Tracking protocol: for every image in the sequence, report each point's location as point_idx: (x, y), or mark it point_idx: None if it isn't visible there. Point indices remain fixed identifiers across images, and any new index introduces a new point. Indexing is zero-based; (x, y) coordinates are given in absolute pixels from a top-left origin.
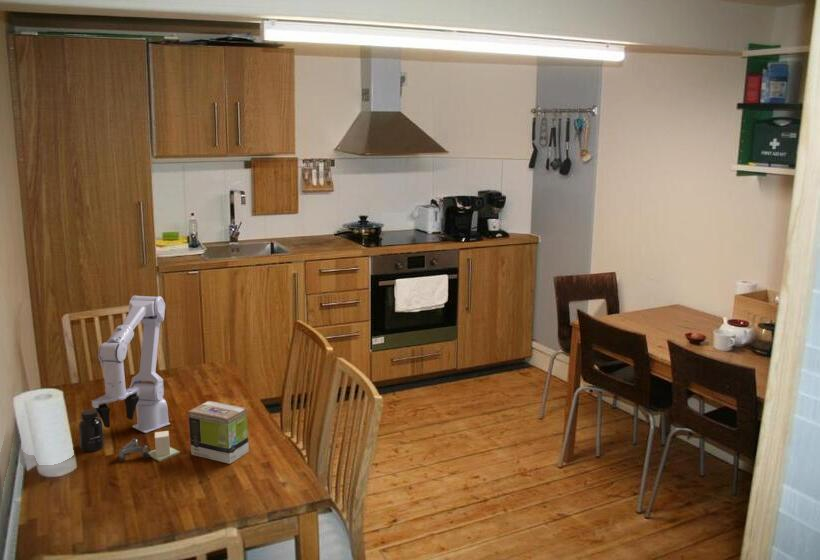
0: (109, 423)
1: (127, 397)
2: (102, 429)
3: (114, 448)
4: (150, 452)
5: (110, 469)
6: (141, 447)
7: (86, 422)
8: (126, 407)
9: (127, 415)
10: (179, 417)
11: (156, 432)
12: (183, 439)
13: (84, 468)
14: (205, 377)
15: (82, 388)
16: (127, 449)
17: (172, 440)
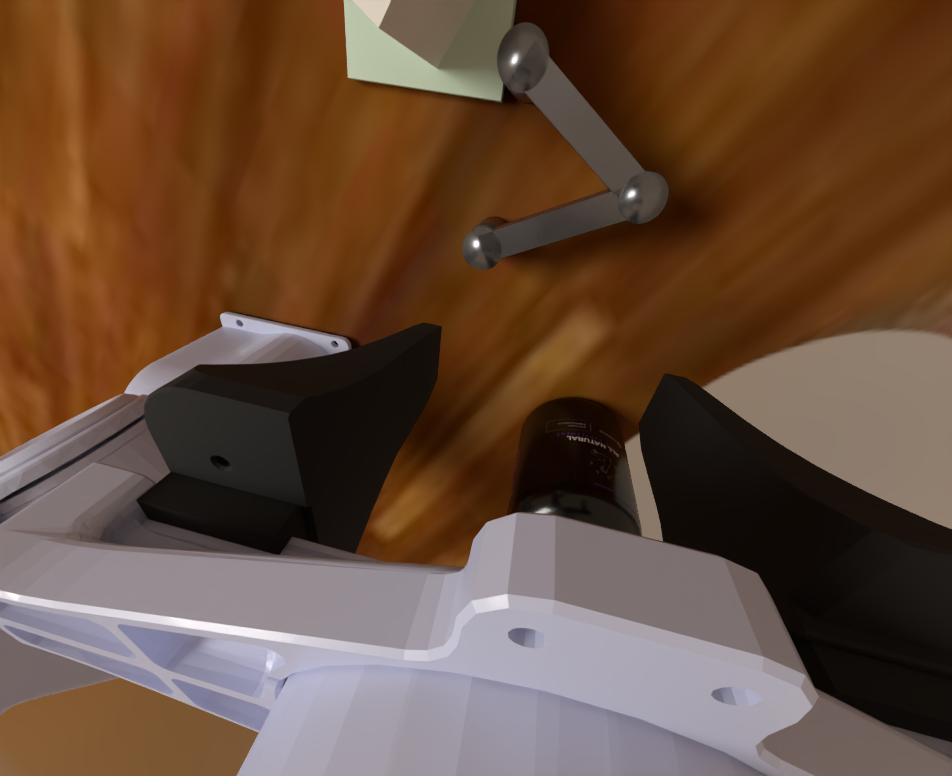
0: (686, 389)
1: (319, 540)
2: (535, 461)
3: (531, 349)
4: (480, 78)
5: (783, 143)
6: (551, 65)
7: None
8: (395, 448)
9: (429, 387)
10: (170, 329)
11: (368, 6)
12: (228, 76)
13: (797, 310)
14: None
15: None
16: (627, 153)
17: (286, 136)
